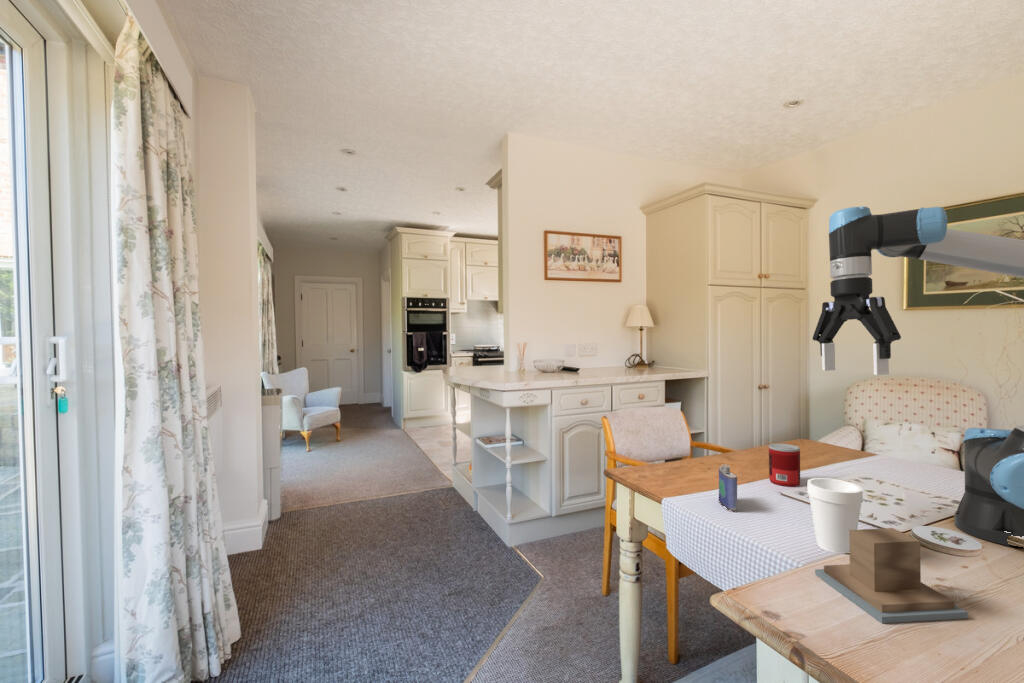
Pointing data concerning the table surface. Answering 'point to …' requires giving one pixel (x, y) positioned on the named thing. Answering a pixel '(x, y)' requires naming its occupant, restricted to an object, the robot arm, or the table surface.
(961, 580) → the table surface
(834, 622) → the table surface
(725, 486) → the flask
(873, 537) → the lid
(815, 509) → the foam cup
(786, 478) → the canned food
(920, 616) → the mat
